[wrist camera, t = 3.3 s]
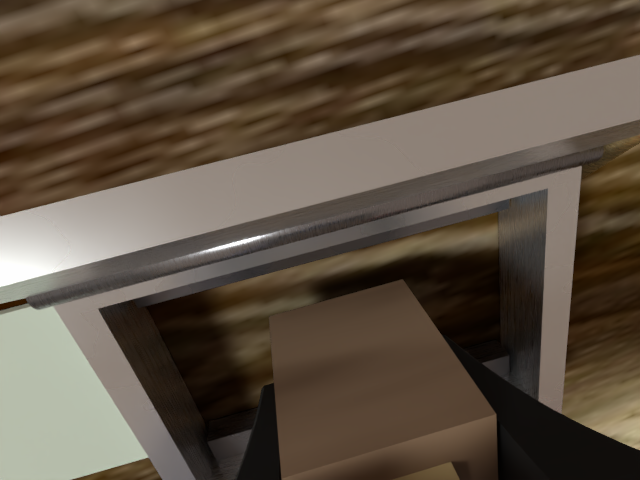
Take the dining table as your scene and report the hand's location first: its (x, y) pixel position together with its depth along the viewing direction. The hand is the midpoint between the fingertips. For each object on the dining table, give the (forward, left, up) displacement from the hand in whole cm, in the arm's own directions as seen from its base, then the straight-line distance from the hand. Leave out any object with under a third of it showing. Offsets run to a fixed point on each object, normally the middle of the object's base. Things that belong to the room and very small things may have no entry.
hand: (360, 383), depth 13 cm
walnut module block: (0, 0, -2) cm, 2 cm away
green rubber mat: (0, +12, -3) cm, 13 cm away
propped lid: (+6, -1, -2) cm, 7 cm away
